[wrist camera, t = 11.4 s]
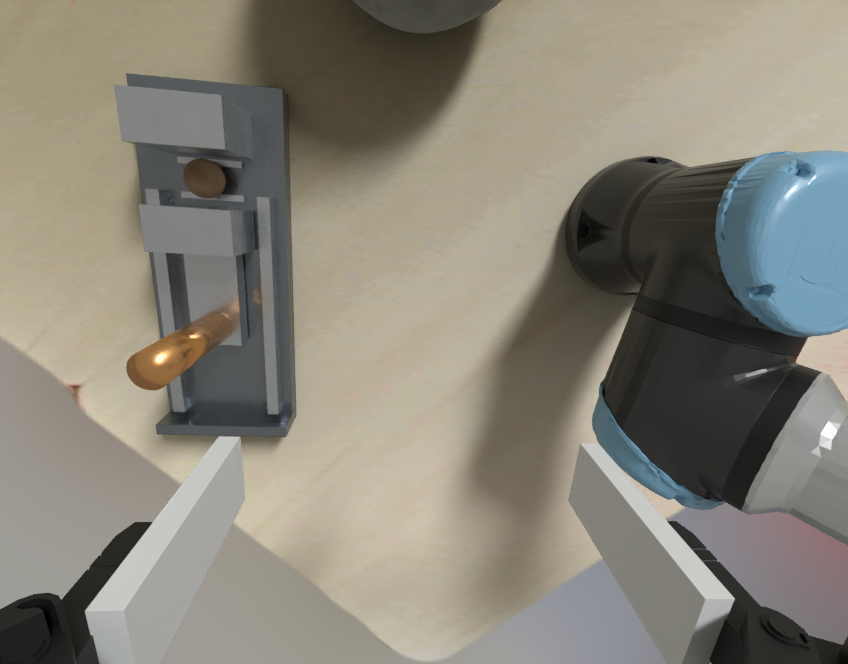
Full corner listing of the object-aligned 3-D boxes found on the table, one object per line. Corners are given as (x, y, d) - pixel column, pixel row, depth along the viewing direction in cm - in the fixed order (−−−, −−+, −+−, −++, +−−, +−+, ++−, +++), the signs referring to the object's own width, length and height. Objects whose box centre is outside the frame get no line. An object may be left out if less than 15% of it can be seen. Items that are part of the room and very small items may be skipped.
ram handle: (175, 205, 40) (64, 202, 26) (253, 210, 40) (184, 211, 27) (189, 337, 44) (100, 393, 30) (260, 340, 44) (203, 396, 31)
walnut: (208, 152, 39) (190, 146, 35) (239, 179, 40) (224, 176, 36) (186, 180, 39) (167, 177, 36) (217, 206, 40) (201, 206, 37)
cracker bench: (139, 80, 38) (66, 42, 30) (287, 94, 40) (258, 62, 31) (180, 412, 49) (134, 455, 40) (296, 415, 50) (276, 457, 41)
